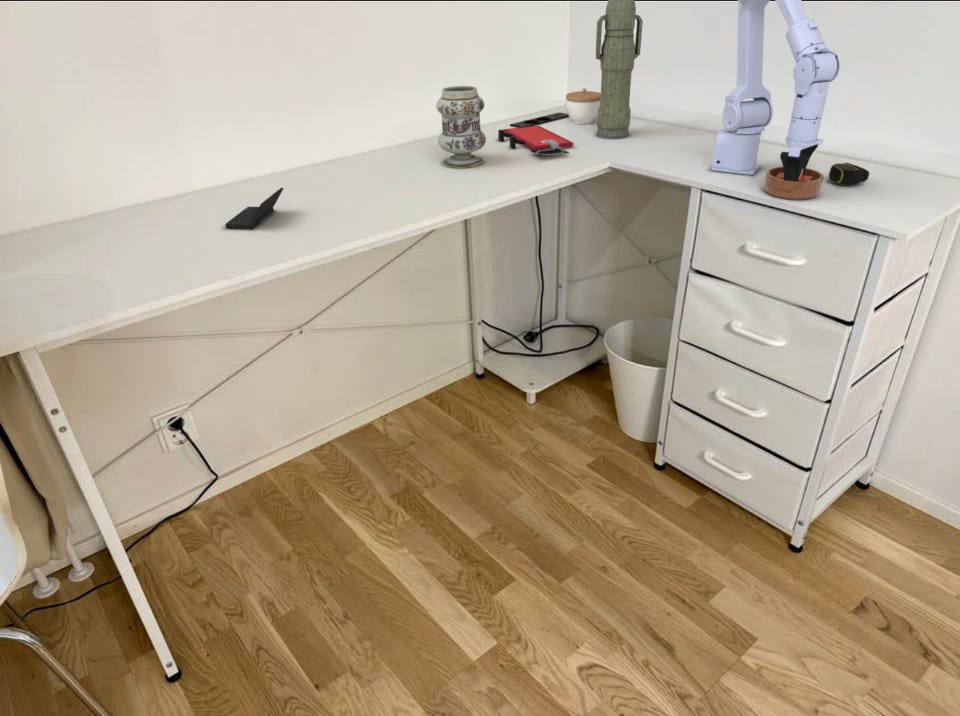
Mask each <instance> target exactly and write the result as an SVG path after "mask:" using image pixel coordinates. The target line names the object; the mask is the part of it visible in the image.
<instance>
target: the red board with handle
mask: <svg viewBox="0 0 960 716" xmlns="http://www.w3.org/2000/svg"><path fill="white" fill-rule="evenodd" d="M497 136H498V137H497V139H498V141H499V142H505V138H509V148H510V149H516V146H517V145H522V146H525V147H528V148H529V151H530V152H531V153H533V154H535V155H536V156H538V157H544V156H553V155H554V156H555V155H564V154H570V151H567V150H565V149H563V148H568V147H574V142H573V141H571V140H569V139H567V138H565V137H564V136H561V135H559V134H557V133H555V132H553V131H550V130H549V129H547V128H544V127H543V126H541V125H531V126H522V127H513V128H503V129H498V135H497Z"/></svg>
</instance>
